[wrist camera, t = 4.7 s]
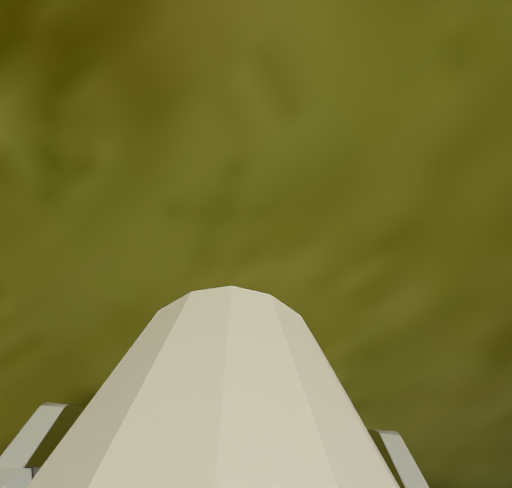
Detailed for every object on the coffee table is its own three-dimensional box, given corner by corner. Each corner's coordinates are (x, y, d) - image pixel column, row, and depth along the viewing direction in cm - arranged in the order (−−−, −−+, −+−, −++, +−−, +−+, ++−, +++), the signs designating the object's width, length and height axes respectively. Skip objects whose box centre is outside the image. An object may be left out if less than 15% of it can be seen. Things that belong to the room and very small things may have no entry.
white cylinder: (165, 490, 11) (58, 980, 5) (66, 311, 10) (-340, 698, 3) (367, 428, 11) (560, 864, 4) (304, 229, 9) (470, 454, 3)
